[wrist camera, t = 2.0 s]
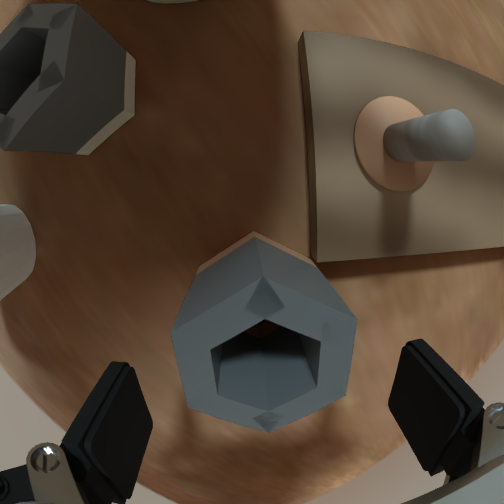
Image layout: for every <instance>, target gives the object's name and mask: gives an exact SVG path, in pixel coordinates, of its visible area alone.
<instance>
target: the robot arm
mask: <svg viewBox="0 0 504 504" xmlns="http://www.w3.org/2000/svg"><path fill="white" fill-rule="evenodd" d="M483 405H484V402H483V401H482V399H481V398H480V397H479V396H478V395H477V394H476V393H475V392H474V391H473V390H472V389H471V388H470V386H469V385H468V384H467V383H466V382H465V381H464V380H463V379H462V378H461V377H460V376H459V375H458V374H457V373H456V372H455V371H454V370H453V369H452V368H451V367H450V366H449V365H448V364H447V363H446V362H445V361H444V360H443V359H442V358H441V357H440V356H439V355H438V354H437V353H436V352H435V351H434V350H433V349H432V348H431V347H430V346H429V345H428V344H427V343H426V342H425V341H424V340H423V339H417V340H413V341H408V342H407V343H406V345H405V346H404V347H403V348H402V350H401V355H400V359H399V363H398V367H397V371H396V375H395V379H394V383H393V386H392V390H391V393H390V397H389V400H388V406H389V409H390V411H391V413H392V415H393V416H394V418H395V420H396V422H397V423H398V425H399V427H400V429H401V430H402V432H403V434H404V436H405V437H406V439H407V441H408V443H409V444H410V446H411V448H412V450H413V452H414V453H415V455H416V457H417V459H418V461H419V463H420V464H421V466H422V468H423V469H424V470H425V471H428V472H429V474H430V476H433V475H435V474H437V473H440V472H441V471H443V470H444V471H445V472H446V477H445V481H444V484H443V486H442V487H439V488H437V489H435V490H433V491H431V492H429V493H427V494H424V495H422V496H420V497H417V498H415V499H412V500H410V501H407V502H404V503H402V504H504V403H494V404H491V405H489V406H488V407H487V408H486V410H484V408H483ZM152 428H153V421H152V418H151V415H150V413H149V410H148V407H147V405H146V402H145V399H144V396H143V394H142V391H141V388H140V385H139V382H138V379H137V376H136V373H135V370H134V368H133V367H130V365H129V364H128V363H127V362H114V361H113V362H111V363H110V364H109V366H108V367H107V369H106V370H105V372H104V373H103V375H102V376H101V378H100V379H99V381H98V383H97V384H96V386H95V387H94V389H93V390H92V392H91V393H90V395H89V397H88V398H87V400H86V401H85V403H84V405H83V406H82V408H81V409H80V411H79V413H78V414H77V416H76V418H75V419H74V421H73V423H72V424H71V426H70V428H69V429H68V431H67V433H66V434H65V436H64V438H63V440H62V443H61V445H60V446H58V445H56V444H54V443H48V442H47V443H41V444H38V445H36V446H35V447H33V448H32V449H31V450H30V451H29V453H28V455H27V458H26V459H27V460H26V462H27V464H26V465H22V466H19V467H16V468H12V469H8V470H4V471H1V472H0V504H111V503H112V502H114V503H117V504H125V502H126V499H130V498H131V496H132V493H133V489H134V486H135V483H136V480H137V476H138V473H139V470H140V466H141V463H142V460H143V456H144V453H145V450H146V447H147V444H148V441H149V437H150V434H151V431H152Z"/></svg>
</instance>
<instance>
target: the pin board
mask: <svg viewBox="0 0 504 504" xmlns="http://www.w3.org/2000/svg"><path fill="white" fill-rule="evenodd" d="M298 46H299V55H300V64H301V73H302V83H303V94H304V106H305V119H306V133H307V150H308V170H309V197H310V255H311V256H312V257H313V258H314V259H315V260H316V262H329V261H343V260H356V259H369V258H382V257H394V256H407V255H418V254H430V253H441V252H453V251H463V250H474V249H484V248H494V247H504V85H502V84H500V83H498V82H496V81H494V80H492V79H490V78H488V77H486V76H483V75H481V74H479V73H477V72H475V71H472V70H470V69H468V68H465V67H463V66H460V65H458V64H455V63H452V62H450V61H447V60H444V59H441V58H439V57H436V56H433V55H430V54H426V53H423V52H420V51H417V50H413V49H410V48H406V47H402V46H398V45H394V44H390V43H386V42H381V41H376V40H371V39H366V38H361V37H355V36H349V35H342V34H334V33H325V32H315V31H303V32H302V34H301V37H300V39H299V41H298Z"/></svg>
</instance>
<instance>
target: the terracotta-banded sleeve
mask: <svg viewBox="0 0 504 504" xmlns="http://www.w3.org/2000/svg"><path fill="white" fill-rule="evenodd" d="M264 319H267V320H266V321H265V322H263V323H261V324H259V325H257V323H259V322H260V321H262V320H264ZM356 323H357V318H356V317H355V315H354V314H353V313H352V311H351V310H350V309H349V307H348V306H347V305H346V303H345V302H344V301H343V300H342V298H341V297H340V296H339V294H338V293H337V292H336V291H335V289H334V288H333V287H332V285H331V284H330V283H329V282H328V280H327V279H326V278H325V277H324V275H323V274H322V273H321V271H320V270H319V269H318V268H317V266H316V265H315V264H314V263H313V261H312V260H311V259H309V258H307V257H305V256H303V255H301V254H299V253H297V252H295V251H293V250H291V249H289V248H287V247H285V246H283V245H281V244H279V243H277V242H275V241H273V240H271V239H269V238H267V237H265V236H263V235H261V234H259V233H257V232H255V231H252V232H251V233H249V234H248V235H246V236H245V237H243V238H242V239H240V240H239V241H237V242H235V243H234V244H232V245H231V246H229V247H228V248H226V249H225V250H223V251H222V252H220V253H219V254H217V255H216V256H214V257H212V258H211V259H209V260H208V261H206V262H205V263H203V264H202V265H200V266H199V268H198V270H197V272H196V275H195V277H194V279H193V281H192V284H191V286H190V288H189V290H188V292H187V295H186V297H185V299H184V301H183V304H182V306H181V308H180V311H179V313H178V315H177V318H176V320H175V322H174V324H173V327H172V329H171V332H170V333H171V337H172V342H173V346H174V351H175V355H176V360H177V364H178V368H179V372H180V377H181V381H182V384H183V388H184V392H185V396H186V400H187V403H188V408H191V409H194V410H197V411H199V412H202V413H205V414H208V415H211V416H214V417H217V418H220V419H223V420H226V421H229V422H233V423H236V424H239V425H243V426H246V427H250V428H254V429H257V430H261V431H265V432H271V431H274V430H276V429H278V428H281V427H283V426H285V425H288V424H290V423H292V422H294V421H296V420H298V419H301V418H303V417H305V416H307V415H309V414H311V413H313V412H315V411H317V410H319V409H321V408H323V407H325V406H327V405H329V404H331V403H332V402H334V401H336V400H338V399H340V398H342V397H343V396H345V395H346V390H347V384H348V379H349V373H350V367H351V360H352V354H353V347H354V339H355V332H356Z"/></svg>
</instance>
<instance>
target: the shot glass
mask: <svg viewBox="0 0 504 504" xmlns="http://www.w3.org/2000/svg"><path fill="white" fill-rule="evenodd" d="M35 260H36V241H35V237H34V234H33V230H32V227H31V224H30V222H29V221H28V219H27V217H26V215H25V214H24V212H23V211H21V210H20V209H19V208H18V207H17V206H15V205H10V204H0V300H2V299H3V298H4V297H5V296H6V295H8V294H9V293H10V292H11V291H12V290H14V289H15V288H16V287H17V286H18V285H20V284H21V283H22V282H23V281H25V280H26V279H27V278H28V277H29V275H30V274H31V273H32V271H33V269H34V264H35Z"/></svg>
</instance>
